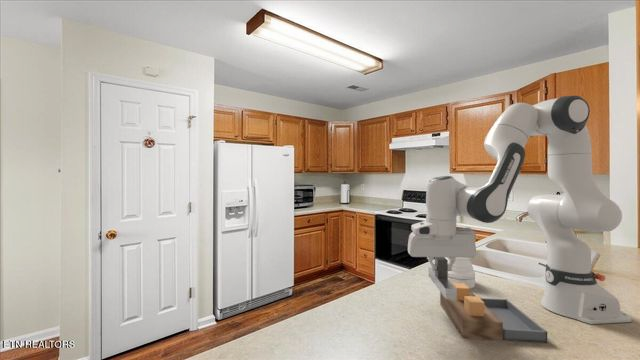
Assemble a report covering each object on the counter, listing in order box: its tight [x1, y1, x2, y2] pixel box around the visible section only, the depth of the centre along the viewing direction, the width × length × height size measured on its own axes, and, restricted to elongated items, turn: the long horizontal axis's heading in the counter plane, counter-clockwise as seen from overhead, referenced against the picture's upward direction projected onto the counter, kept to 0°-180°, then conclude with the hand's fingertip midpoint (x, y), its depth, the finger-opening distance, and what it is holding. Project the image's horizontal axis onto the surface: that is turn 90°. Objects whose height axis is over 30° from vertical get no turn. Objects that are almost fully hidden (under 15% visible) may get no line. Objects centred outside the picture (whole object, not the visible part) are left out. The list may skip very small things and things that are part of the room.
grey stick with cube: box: [428, 257, 457, 300], centre depth 88 cm, size 3×18×9 cm, turn 173°
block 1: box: [452, 283, 471, 300], centre depth 93 cm, size 4×4×4 cm
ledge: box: [439, 291, 504, 341], centre depth 88 cm, size 10×20×5 cm, turn 174°
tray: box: [479, 297, 548, 344], centre depth 86 cm, size 12×20×3 cm, turn 174°
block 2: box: [464, 295, 484, 316], centre depth 83 cm, size 4×4×4 cm
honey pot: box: [445, 257, 476, 289], centre depth 118 cm, size 13×13×18 cm
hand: (441, 270), depth 88 cm, fingers closed on grey stick with cube, 3 cm apart
